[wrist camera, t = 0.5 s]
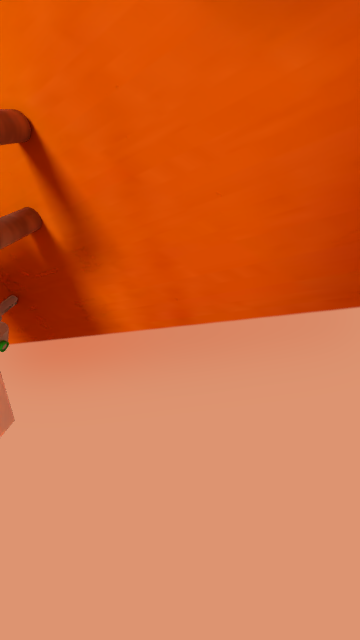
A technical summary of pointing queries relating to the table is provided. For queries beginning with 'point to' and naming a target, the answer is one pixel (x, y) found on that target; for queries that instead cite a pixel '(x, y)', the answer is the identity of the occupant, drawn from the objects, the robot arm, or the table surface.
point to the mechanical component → (2, 328)
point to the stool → (18, 225)
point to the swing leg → (13, 127)
